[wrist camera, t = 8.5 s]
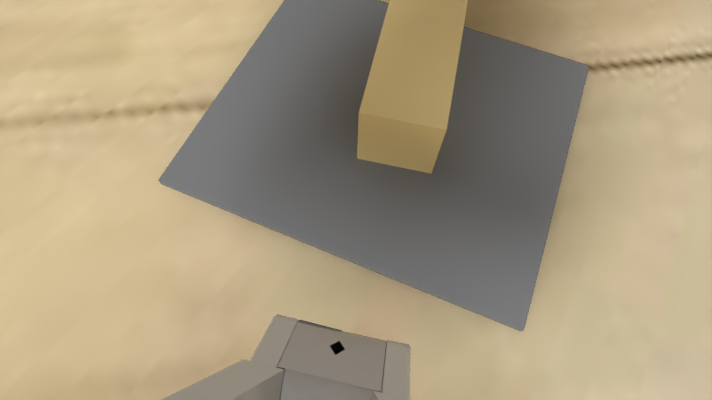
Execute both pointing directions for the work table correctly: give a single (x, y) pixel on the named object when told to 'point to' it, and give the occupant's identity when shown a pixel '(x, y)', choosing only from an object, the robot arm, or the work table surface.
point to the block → (411, 83)
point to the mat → (385, 182)
